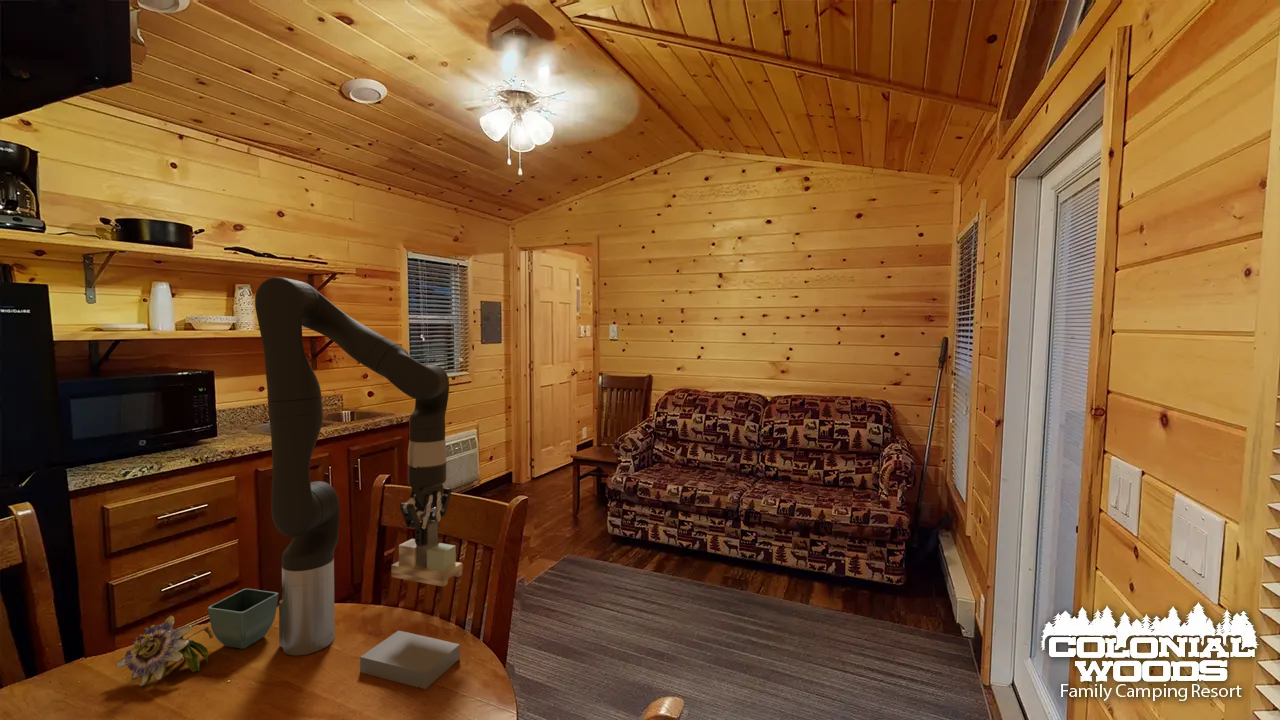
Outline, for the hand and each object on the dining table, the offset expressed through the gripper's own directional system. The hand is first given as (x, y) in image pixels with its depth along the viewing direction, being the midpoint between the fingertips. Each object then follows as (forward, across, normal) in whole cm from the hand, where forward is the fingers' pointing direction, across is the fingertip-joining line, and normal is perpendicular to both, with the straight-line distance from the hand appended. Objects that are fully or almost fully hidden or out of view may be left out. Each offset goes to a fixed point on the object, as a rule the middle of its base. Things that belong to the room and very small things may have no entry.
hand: (426, 541), depth 115 cm
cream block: (+5, 0, -4) cm, 6 cm away
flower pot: (+21, +13, -35) cm, 43 cm away
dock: (+21, +8, +3) cm, 23 cm away
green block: (+5, 0, +4) cm, 6 cm away
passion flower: (+22, +25, -39) cm, 51 cm away
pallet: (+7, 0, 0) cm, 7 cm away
